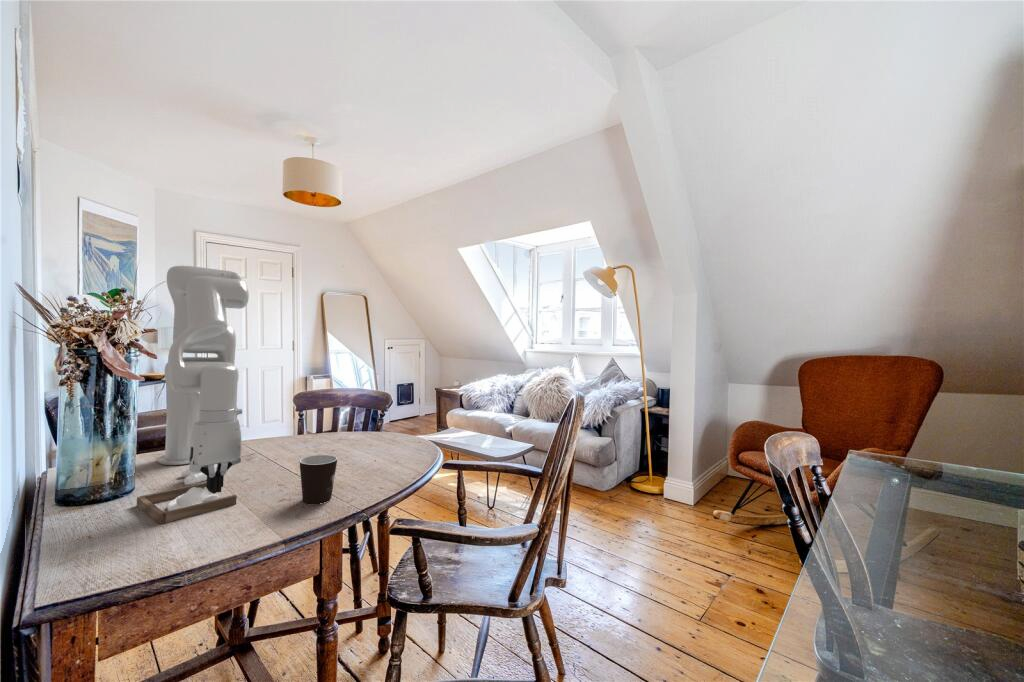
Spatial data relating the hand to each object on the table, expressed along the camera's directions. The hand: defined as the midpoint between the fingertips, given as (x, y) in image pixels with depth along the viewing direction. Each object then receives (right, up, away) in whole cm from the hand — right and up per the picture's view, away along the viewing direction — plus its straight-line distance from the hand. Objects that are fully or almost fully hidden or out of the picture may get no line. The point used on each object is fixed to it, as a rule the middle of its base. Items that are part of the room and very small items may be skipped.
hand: (214, 491), depth 104 cm
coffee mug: (+24, -3, +4) cm, 25 cm away
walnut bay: (-3, -2, -4) cm, 5 cm away
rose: (-2, -2, -5) cm, 5 cm away
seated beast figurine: (-13, -1, +13) cm, 19 cm away
